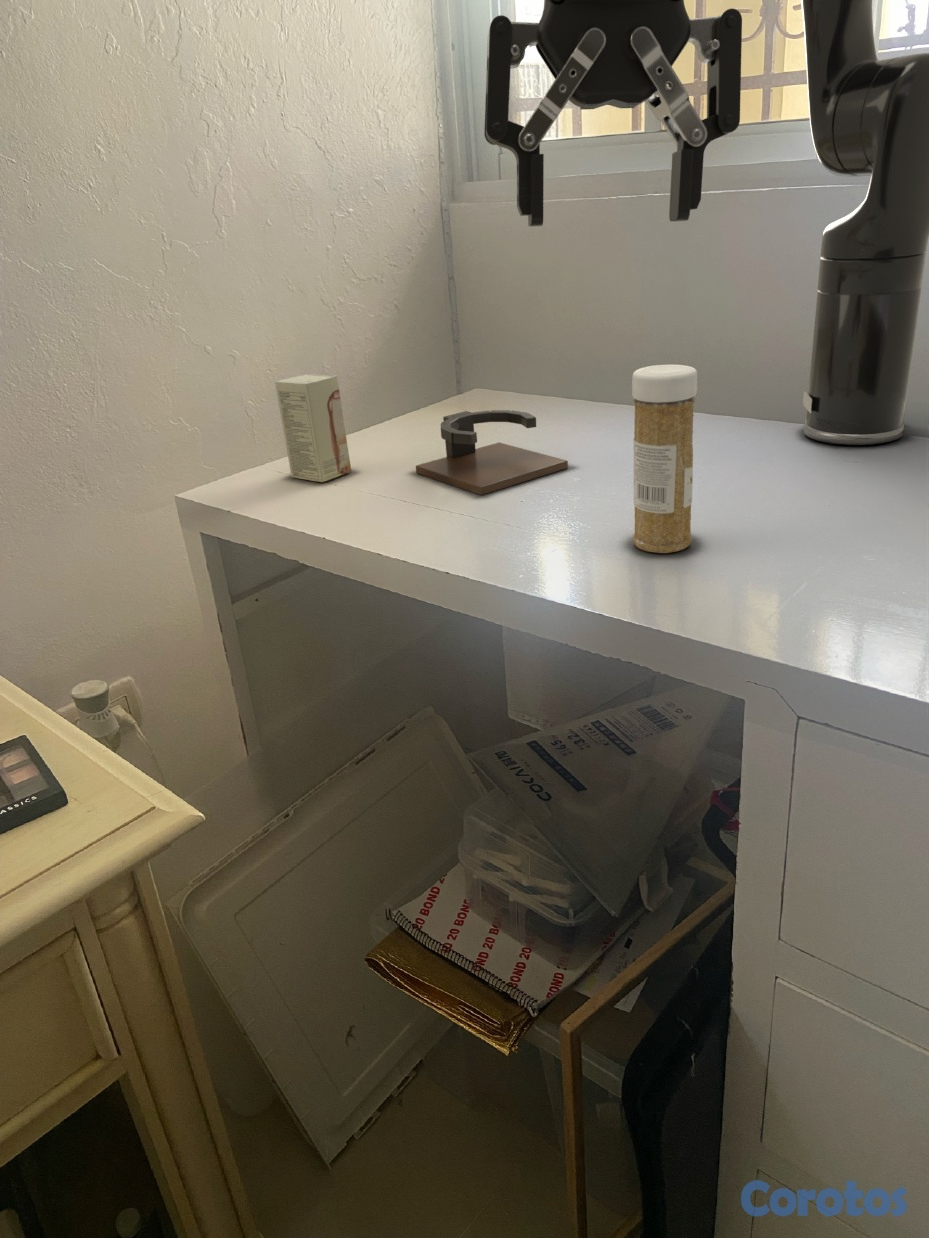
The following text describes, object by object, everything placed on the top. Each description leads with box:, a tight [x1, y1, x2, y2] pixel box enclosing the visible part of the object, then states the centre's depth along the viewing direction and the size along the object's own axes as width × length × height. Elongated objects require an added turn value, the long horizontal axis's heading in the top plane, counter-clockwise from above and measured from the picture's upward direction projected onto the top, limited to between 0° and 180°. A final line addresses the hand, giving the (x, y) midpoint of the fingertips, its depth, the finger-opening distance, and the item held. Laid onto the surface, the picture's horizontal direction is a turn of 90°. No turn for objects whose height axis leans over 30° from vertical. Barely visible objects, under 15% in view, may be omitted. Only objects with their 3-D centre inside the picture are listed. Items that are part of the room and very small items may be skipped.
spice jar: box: [631, 364, 698, 554], centre depth 68 cm, size 5×5×13 cm
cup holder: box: [415, 409, 569, 496], centre depth 91 cm, size 11×11×5 cm
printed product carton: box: [274, 373, 352, 483], centre depth 93 cm, size 5×4×10 cm
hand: (606, 223), depth 54 cm, fingers open, 8 cm apart
